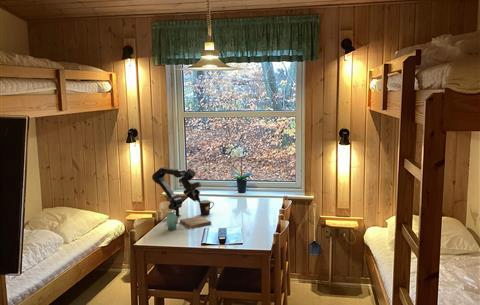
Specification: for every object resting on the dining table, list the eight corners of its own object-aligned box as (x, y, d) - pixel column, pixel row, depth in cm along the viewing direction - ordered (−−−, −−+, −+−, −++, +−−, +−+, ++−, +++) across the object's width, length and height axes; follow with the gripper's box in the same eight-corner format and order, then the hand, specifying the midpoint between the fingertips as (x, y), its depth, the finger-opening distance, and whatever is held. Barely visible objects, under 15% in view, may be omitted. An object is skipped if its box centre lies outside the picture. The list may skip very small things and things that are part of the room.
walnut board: (180, 222, 322) (180, 219, 322) (200, 218, 330) (200, 215, 329) (189, 228, 306) (189, 225, 306) (211, 224, 314) (211, 221, 314)
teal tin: (166, 229, 307) (165, 210, 305) (174, 227, 310) (173, 209, 308) (169, 231, 301) (168, 212, 300) (178, 229, 304) (177, 211, 302)
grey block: (168, 223, 321) (168, 216, 321) (175, 221, 324) (174, 215, 323) (170, 224, 317) (170, 217, 316) (177, 223, 319) (177, 216, 319)
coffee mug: (200, 216, 336) (199, 203, 334) (198, 213, 344) (198, 200, 343) (215, 215, 338) (215, 202, 336) (214, 212, 346) (213, 199, 345)
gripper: (191, 176, 317) (202, 194, 312) (200, 179, 334) (210, 196, 330) (178, 185, 318) (189, 203, 313) (188, 187, 336) (198, 205, 331)
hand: (197, 201), depth 322 cm, fingers open, 9 cm apart
